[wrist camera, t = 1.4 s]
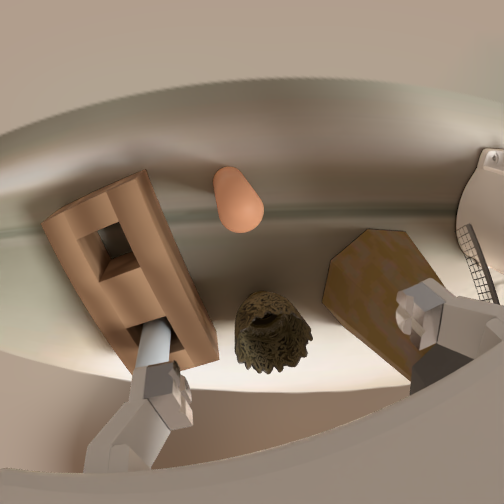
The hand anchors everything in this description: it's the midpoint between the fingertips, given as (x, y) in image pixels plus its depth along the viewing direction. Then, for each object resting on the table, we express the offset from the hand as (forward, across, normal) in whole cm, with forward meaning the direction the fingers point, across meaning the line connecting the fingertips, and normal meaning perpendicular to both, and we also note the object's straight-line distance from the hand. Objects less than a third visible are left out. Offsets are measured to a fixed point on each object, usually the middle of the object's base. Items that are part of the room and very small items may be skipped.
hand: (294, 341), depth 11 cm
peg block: (+22, +11, +6) cm, 26 cm away
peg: (+22, 0, -1) cm, 22 cm away
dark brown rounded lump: (+22, -1, +13) cm, 26 cm away
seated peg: (+22, +11, +11) cm, 27 cm away
